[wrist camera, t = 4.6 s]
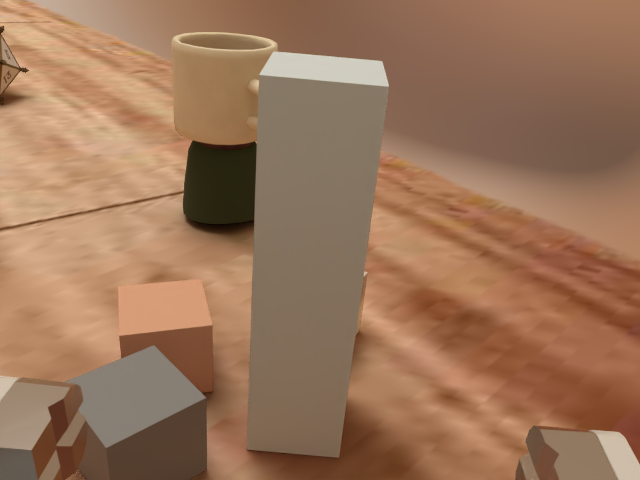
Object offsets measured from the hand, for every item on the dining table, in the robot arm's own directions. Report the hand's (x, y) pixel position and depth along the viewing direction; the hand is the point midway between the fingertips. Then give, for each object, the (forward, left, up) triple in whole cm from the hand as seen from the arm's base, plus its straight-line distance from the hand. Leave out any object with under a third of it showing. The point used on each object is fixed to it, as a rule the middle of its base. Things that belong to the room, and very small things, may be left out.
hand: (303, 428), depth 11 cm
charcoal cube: (0, +11, -12) cm, 17 cm away
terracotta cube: (+3, +16, -12) cm, 21 cm away
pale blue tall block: (+7, +10, -12) cm, 17 cm away
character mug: (+13, +31, -12) cm, 36 cm away
